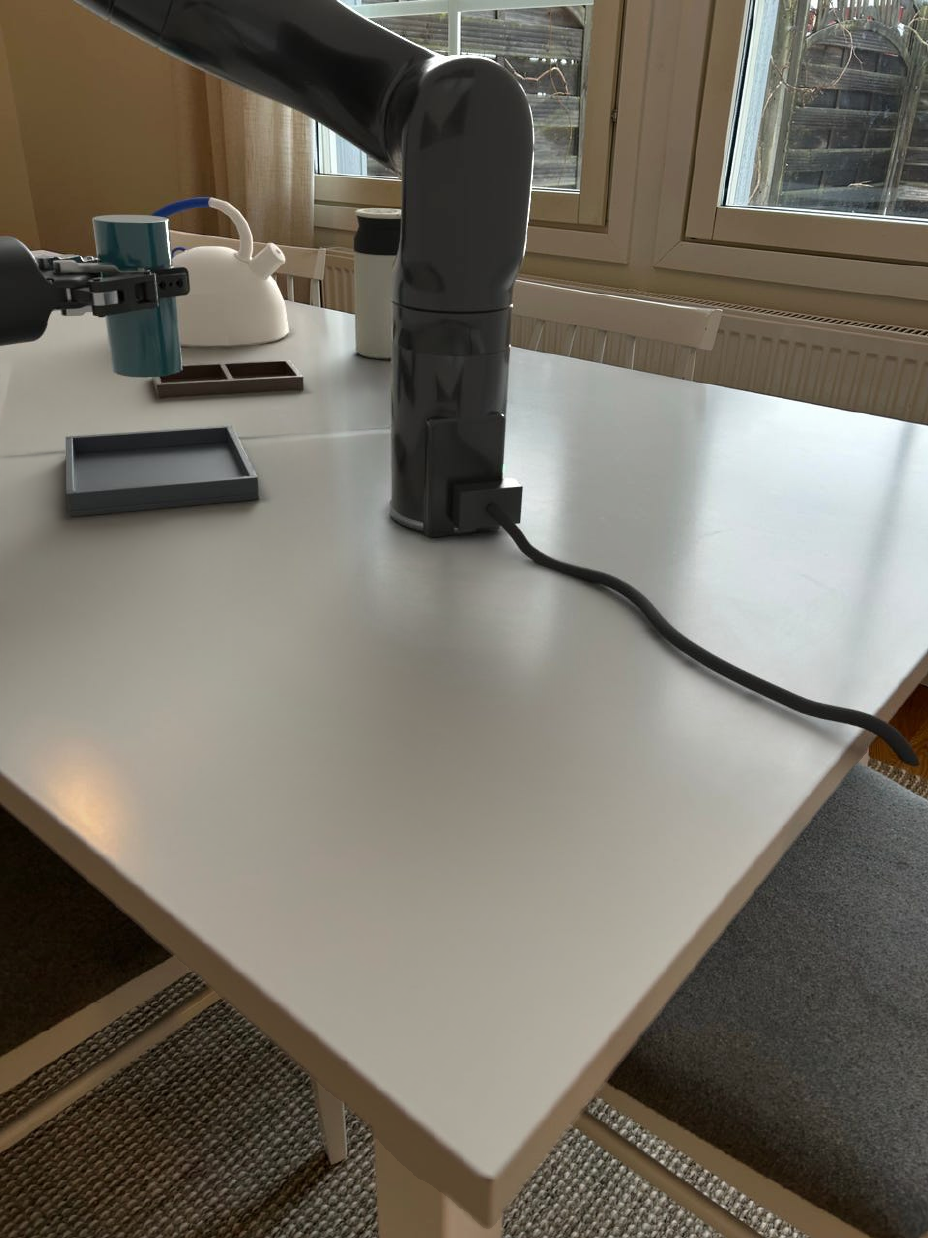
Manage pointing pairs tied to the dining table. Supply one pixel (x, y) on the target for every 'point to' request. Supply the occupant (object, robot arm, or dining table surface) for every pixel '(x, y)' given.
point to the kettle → (228, 287)
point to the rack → (229, 379)
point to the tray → (156, 470)
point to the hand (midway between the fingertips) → (162, 274)
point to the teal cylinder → (143, 335)
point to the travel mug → (374, 279)
